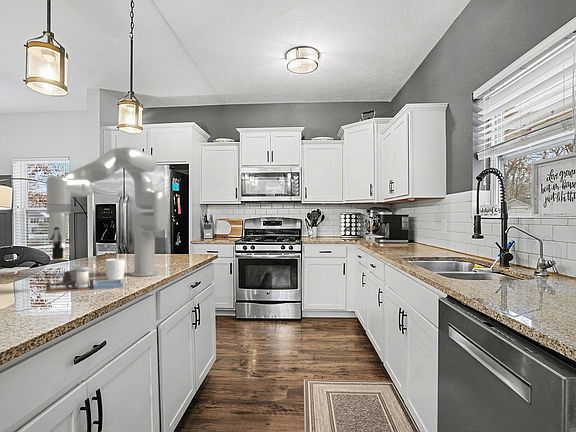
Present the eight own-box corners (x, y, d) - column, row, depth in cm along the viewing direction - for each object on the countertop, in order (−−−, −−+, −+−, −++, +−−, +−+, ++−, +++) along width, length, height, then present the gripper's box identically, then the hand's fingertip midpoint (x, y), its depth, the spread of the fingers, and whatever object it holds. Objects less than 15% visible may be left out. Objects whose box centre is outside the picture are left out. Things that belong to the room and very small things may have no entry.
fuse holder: (49, 292, 132) (49, 280, 132) (93, 288, 139) (93, 277, 139) (43, 297, 123) (44, 284, 123) (91, 293, 130) (92, 281, 130)
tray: (95, 288, 139) (95, 281, 139) (122, 286, 143) (122, 279, 143) (93, 293, 130) (93, 285, 130) (122, 291, 134) (122, 283, 134)
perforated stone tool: (78, 282, 152) (78, 266, 153) (90, 282, 153) (90, 266, 153) (58, 289, 138) (58, 272, 138) (72, 289, 138) (72, 271, 138)
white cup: (105, 280, 156) (106, 258, 156) (125, 279, 160) (125, 258, 160) (104, 283, 149) (105, 260, 149) (124, 282, 152) (125, 259, 153)
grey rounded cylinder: (76, 287, 133) (77, 266, 134) (89, 286, 135) (89, 266, 135) (75, 289, 130) (75, 268, 130) (88, 288, 132) (88, 267, 132)
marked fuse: (53, 259, 130) (53, 238, 130) (66, 258, 132) (66, 238, 132) (51, 260, 127) (51, 239, 127) (64, 260, 128) (64, 238, 128)
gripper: (51, 209, 135) (51, 256, 135) (42, 209, 120) (42, 261, 120) (73, 209, 139) (73, 255, 139) (67, 209, 123) (67, 260, 123)
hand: (58, 257), depth 129 cm, fingers closed on marked fuse, 4 cm apart
